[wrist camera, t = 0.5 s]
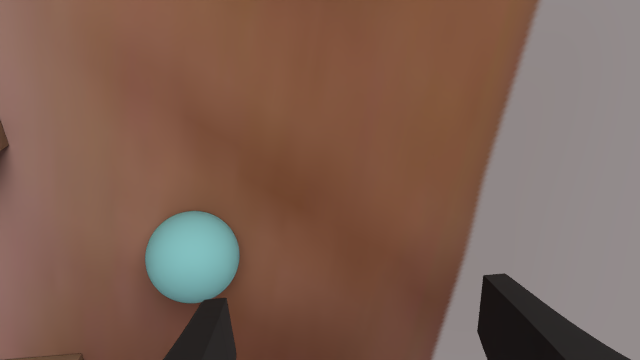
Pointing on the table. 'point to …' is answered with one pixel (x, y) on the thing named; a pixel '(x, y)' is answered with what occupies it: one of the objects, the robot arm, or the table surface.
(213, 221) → the ball
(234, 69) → the table surface
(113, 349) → the table surface
